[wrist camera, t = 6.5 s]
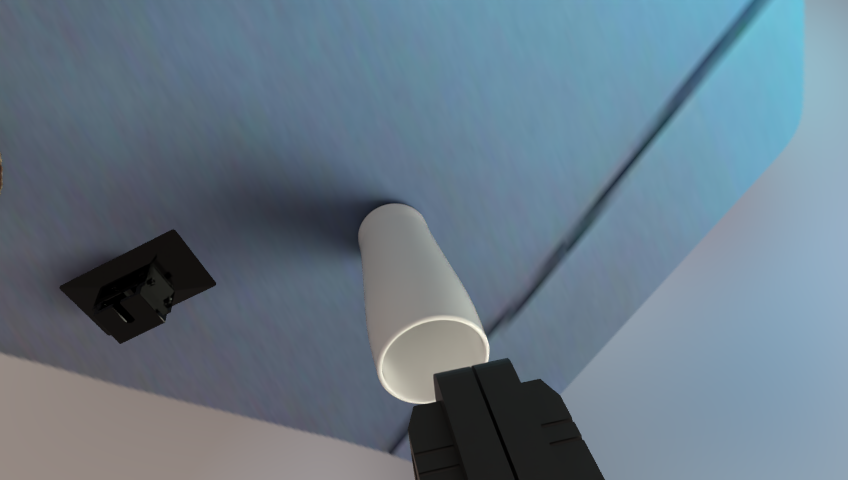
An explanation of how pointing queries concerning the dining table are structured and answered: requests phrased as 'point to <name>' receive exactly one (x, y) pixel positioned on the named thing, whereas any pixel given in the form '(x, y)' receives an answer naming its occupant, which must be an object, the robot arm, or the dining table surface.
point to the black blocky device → (139, 286)
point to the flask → (1, 174)
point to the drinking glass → (414, 305)
